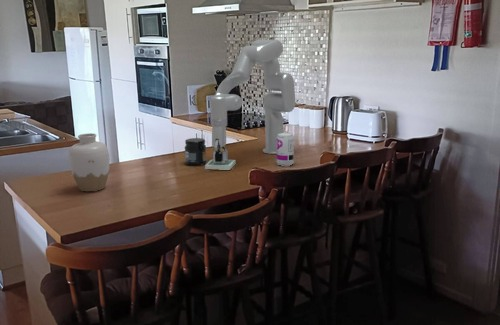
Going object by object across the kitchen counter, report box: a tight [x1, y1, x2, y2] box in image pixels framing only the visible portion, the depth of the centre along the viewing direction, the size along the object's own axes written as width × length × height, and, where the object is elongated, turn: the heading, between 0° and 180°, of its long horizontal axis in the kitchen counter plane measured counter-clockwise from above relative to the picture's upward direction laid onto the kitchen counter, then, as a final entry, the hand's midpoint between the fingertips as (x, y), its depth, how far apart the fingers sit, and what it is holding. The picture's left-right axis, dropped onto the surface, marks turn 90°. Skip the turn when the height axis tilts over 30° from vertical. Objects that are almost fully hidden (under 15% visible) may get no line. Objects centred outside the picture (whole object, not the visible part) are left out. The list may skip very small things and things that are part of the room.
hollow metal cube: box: [212, 149, 229, 166], centre depth 231 cm, size 6×6×8 cm
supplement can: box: [276, 132, 295, 167], centre depth 233 cm, size 8×8×15 cm
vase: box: [68, 133, 111, 192], centre depth 200 cm, size 16×16×23 cm
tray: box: [204, 159, 237, 170], centre depth 232 cm, size 12×12×2 cm
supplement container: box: [184, 137, 208, 166], centre depth 239 cm, size 10×10×12 cm
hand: (220, 159), depth 231 cm, fingers open, 6 cm apart
